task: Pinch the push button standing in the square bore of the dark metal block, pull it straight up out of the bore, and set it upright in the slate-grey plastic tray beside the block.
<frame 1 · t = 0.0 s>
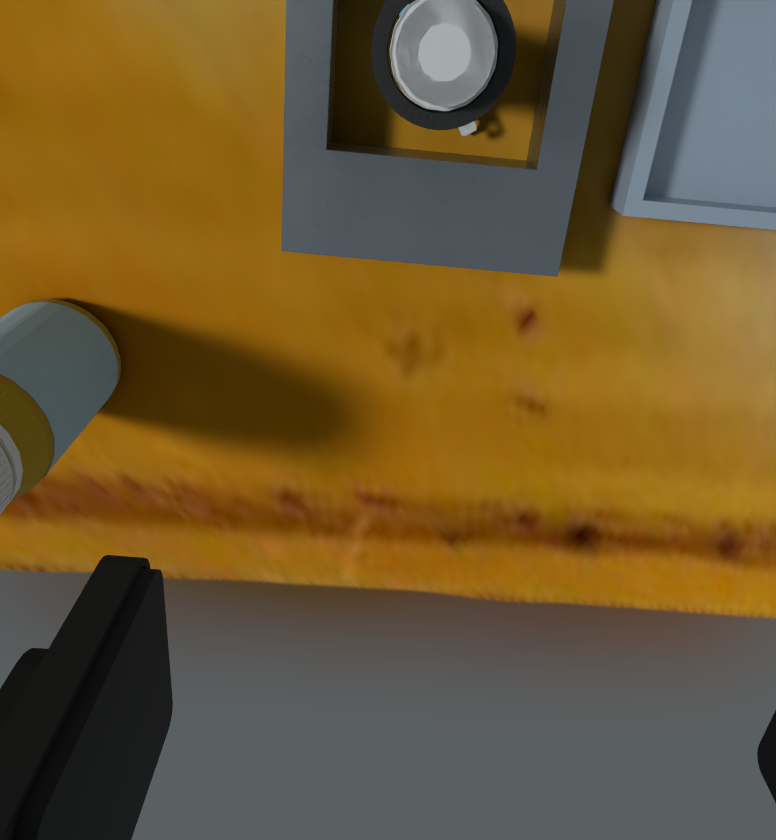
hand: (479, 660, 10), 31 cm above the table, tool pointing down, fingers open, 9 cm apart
push button: (439, 64, 35), on the table
bottle: (66, 351, 42), on the table
tray: (754, 95, 35), on the table
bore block: (439, 64, 35), on the table
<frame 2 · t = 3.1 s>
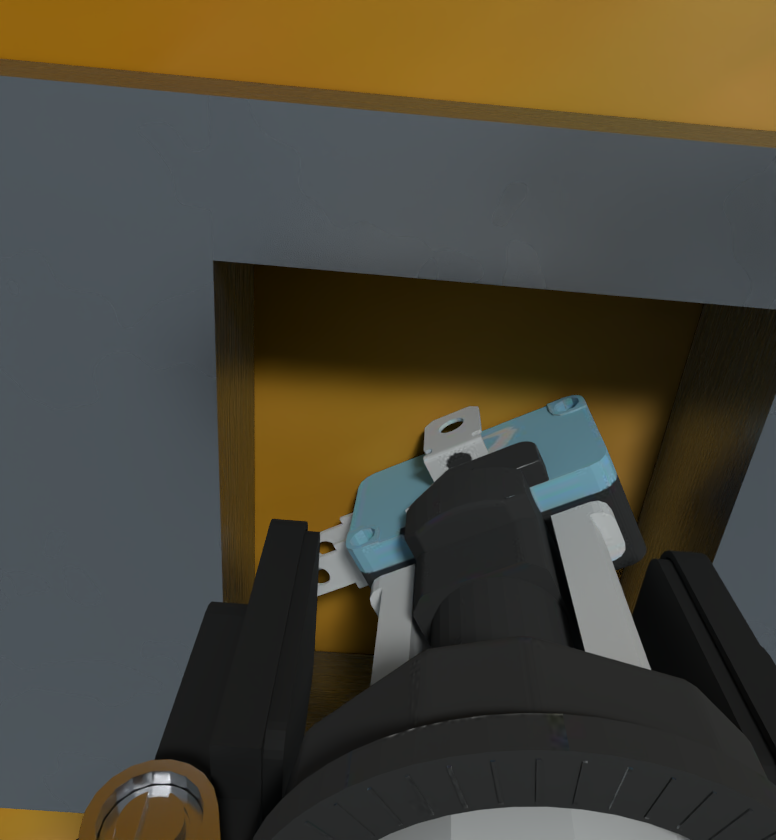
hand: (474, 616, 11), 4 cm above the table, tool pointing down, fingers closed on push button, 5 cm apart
push button: (452, 478, 15), on the table, touching gripper
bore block: (451, 480, 15), on the table
when the fingers open (6 cm above the table, at t = 9.9 s): push button drops 1 cm, resting on tray.
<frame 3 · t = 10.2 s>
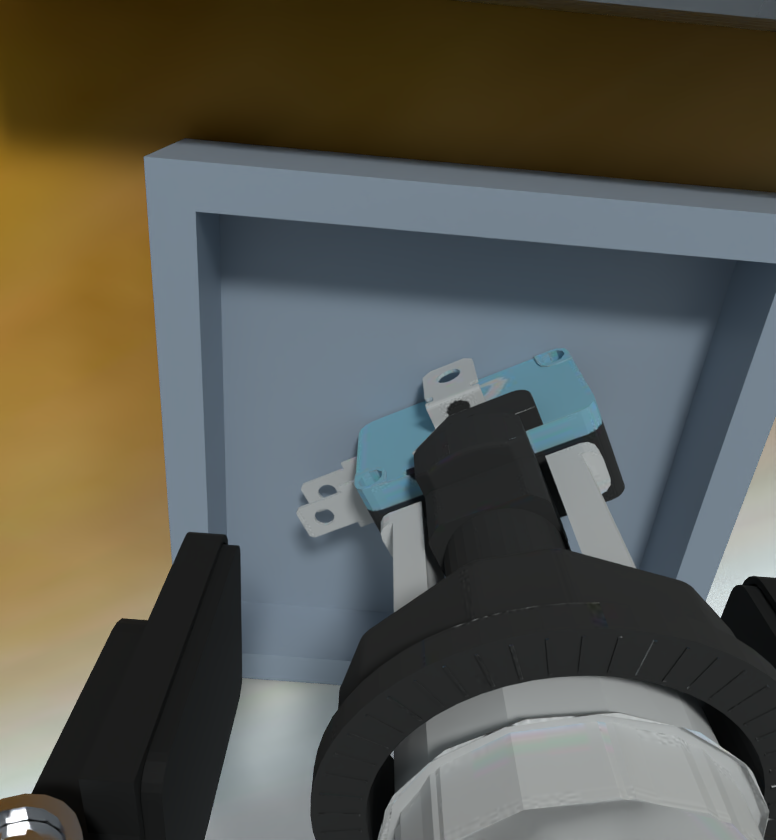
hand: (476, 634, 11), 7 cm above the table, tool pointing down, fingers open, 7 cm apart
push button: (443, 425, 16), point 1 cm above the table, touching tray
tray: (448, 427, 17), on the table
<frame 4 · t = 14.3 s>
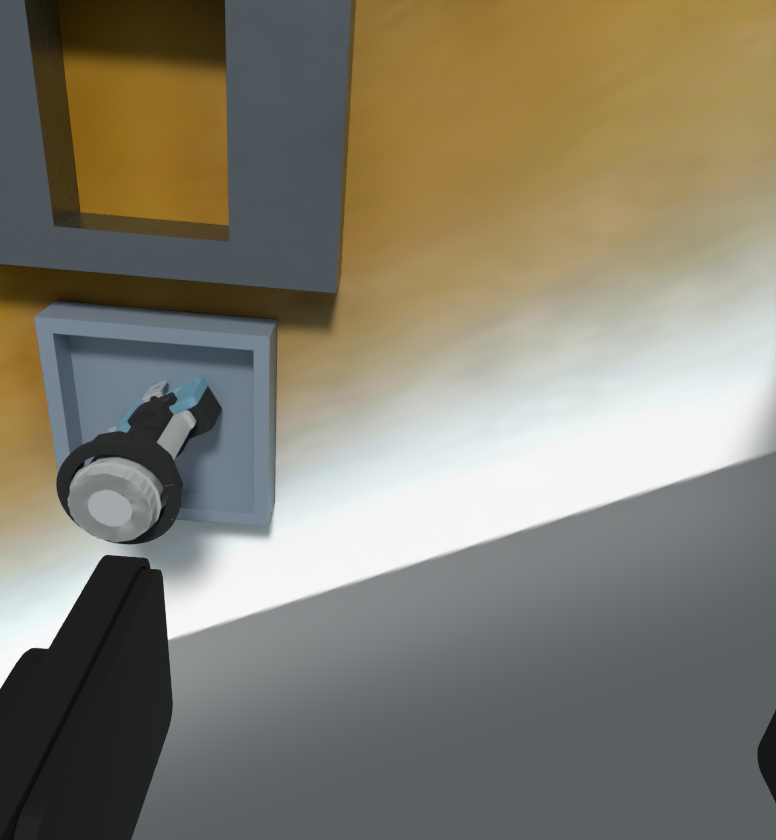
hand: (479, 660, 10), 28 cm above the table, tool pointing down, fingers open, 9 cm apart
push button: (166, 406, 40), point 1 cm above the table, touching tray
tray: (173, 408, 40), on the table
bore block: (154, 110, 33), on the table
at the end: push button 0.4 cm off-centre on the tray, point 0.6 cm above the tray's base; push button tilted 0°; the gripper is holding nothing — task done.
